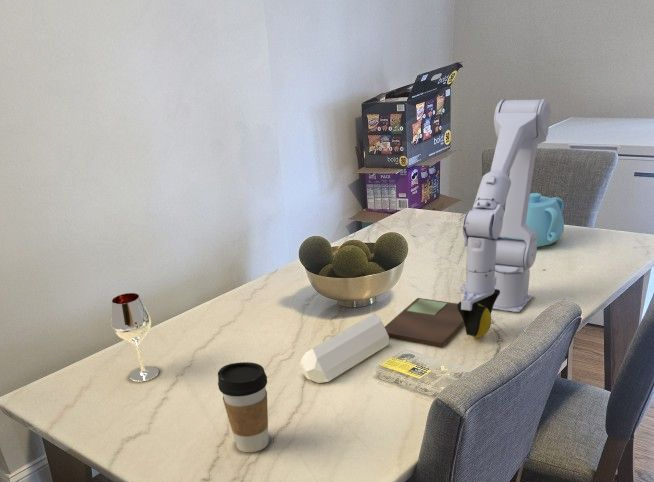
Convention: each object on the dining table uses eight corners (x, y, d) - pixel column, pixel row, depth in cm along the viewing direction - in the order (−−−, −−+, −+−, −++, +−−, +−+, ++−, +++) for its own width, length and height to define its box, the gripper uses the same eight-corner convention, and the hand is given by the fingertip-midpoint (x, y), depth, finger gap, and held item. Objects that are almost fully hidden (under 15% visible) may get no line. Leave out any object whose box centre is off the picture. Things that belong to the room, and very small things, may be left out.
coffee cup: (228, 433, 127) (215, 362, 119) (273, 427, 128) (263, 355, 119) (229, 459, 120) (216, 385, 112) (277, 453, 120) (267, 378, 112)
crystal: (361, 317, 154) (286, 359, 141) (383, 308, 148) (307, 351, 135) (375, 347, 155) (302, 391, 142) (397, 339, 150) (323, 385, 136)
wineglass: (169, 366, 153) (152, 291, 143) (152, 385, 147) (133, 307, 137) (137, 364, 156) (118, 290, 146) (119, 382, 149) (98, 306, 140)
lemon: (490, 344, 145) (493, 308, 141) (463, 344, 147) (465, 309, 142) (489, 333, 150) (491, 298, 146) (462, 333, 151) (464, 299, 147)
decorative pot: (554, 255, 183) (559, 204, 176) (493, 250, 191) (496, 201, 184) (567, 235, 195) (573, 186, 187) (509, 231, 202) (513, 184, 195)
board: (417, 302, 168) (417, 296, 167) (477, 311, 160) (477, 305, 159) (379, 336, 154) (379, 330, 154) (442, 347, 146) (442, 341, 146)
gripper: (474, 254, 147) (472, 312, 154) (447, 278, 137) (446, 339, 144) (507, 257, 143) (503, 317, 150) (482, 282, 134) (478, 345, 141)
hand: (477, 328), depth 147 cm, fingers open, 6 cm apart
